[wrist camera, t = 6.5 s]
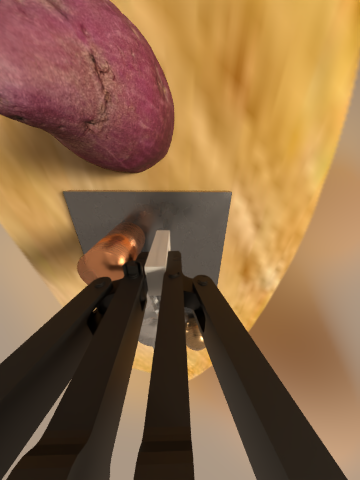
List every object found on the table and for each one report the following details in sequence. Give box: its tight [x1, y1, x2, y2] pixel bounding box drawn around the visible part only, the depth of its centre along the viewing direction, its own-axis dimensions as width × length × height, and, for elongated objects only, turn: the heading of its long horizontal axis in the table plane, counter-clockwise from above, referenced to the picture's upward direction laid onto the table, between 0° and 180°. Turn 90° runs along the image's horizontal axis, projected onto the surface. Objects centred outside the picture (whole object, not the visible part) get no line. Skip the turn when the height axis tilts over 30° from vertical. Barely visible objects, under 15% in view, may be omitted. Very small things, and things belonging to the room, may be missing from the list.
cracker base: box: [63, 190, 232, 351], centre depth 20 cm, size 25×20×7 cm
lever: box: [77, 222, 160, 348], centre depth 18 cm, size 22×5×7 cm, turn 10°
